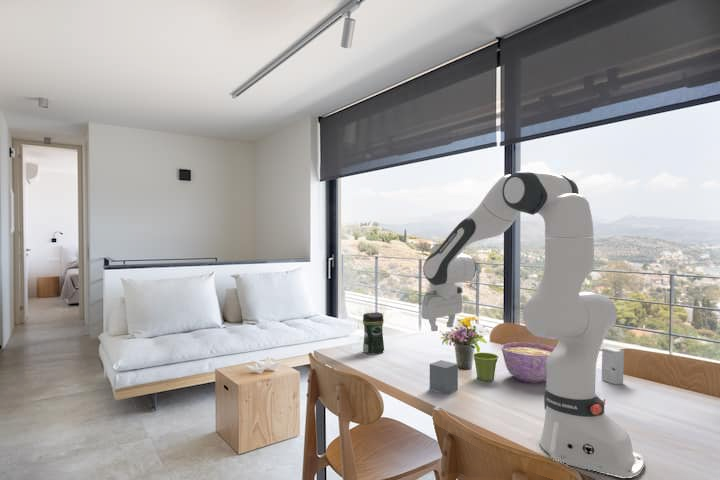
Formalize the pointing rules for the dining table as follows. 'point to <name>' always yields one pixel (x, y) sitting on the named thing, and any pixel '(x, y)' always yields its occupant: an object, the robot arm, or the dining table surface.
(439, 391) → the circle
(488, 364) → the plant pot
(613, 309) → the robot arm
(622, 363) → the skincare box
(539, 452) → the dining table surface
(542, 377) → the bowl of food
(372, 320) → the coffee jar
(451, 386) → the grey upright box
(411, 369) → the dining table surface
